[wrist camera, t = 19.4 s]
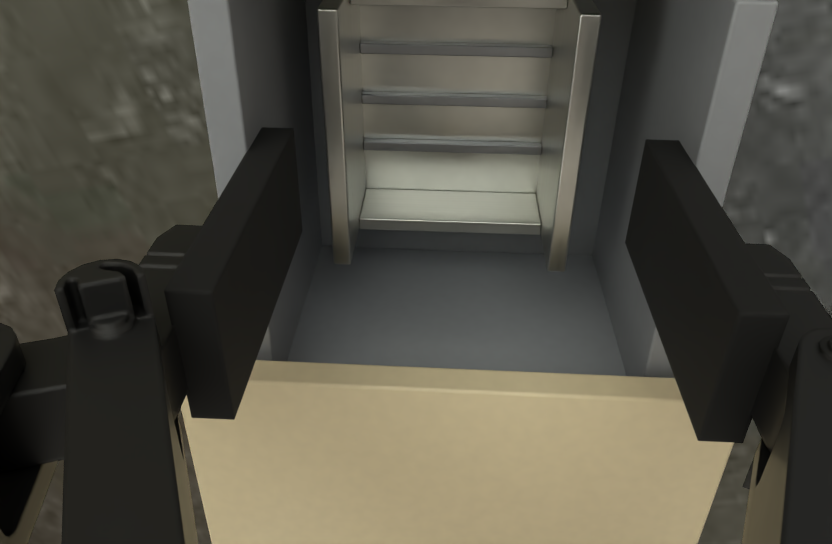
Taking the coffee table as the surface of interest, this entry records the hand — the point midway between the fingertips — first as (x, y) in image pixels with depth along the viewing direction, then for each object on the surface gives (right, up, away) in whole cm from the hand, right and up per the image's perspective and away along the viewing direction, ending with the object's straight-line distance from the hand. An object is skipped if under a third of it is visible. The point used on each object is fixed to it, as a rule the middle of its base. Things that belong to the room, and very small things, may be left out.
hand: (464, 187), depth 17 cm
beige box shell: (0, -5, +13) cm, 14 cm away
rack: (0, +3, +5) cm, 6 cm away
